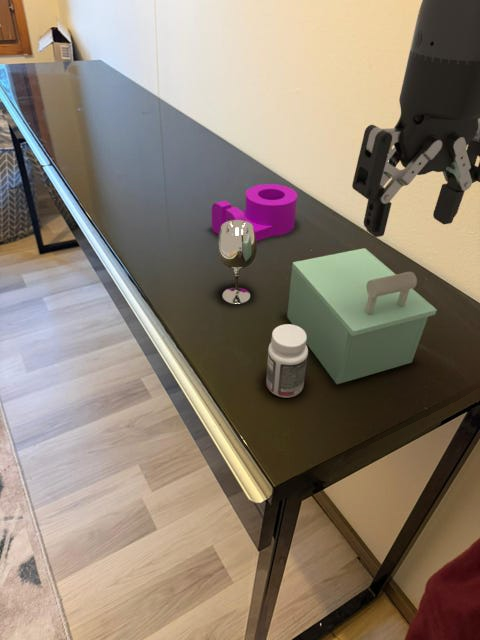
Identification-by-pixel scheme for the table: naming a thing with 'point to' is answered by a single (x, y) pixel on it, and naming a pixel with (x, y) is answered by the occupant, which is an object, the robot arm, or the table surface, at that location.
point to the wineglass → (236, 254)
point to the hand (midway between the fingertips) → (408, 227)
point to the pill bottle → (287, 361)
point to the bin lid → (363, 291)
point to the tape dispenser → (261, 211)
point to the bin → (349, 337)
